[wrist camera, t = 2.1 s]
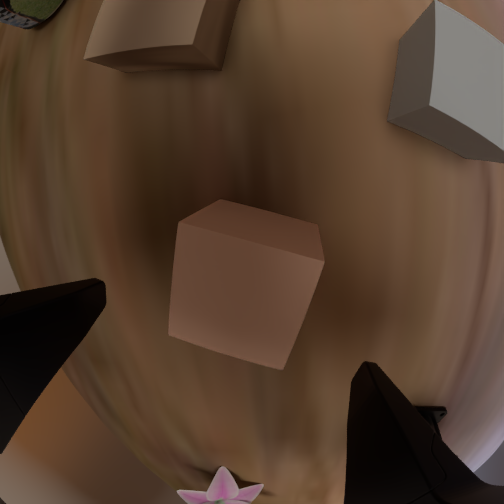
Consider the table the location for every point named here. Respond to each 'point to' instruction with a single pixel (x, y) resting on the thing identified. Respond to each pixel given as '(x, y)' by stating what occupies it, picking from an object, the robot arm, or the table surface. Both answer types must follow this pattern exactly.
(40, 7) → the beverage can
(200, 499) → the lily
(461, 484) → the robot arm
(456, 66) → the slate-grey block
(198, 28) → the walnut block
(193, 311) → the terracotta block
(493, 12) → the table surface
